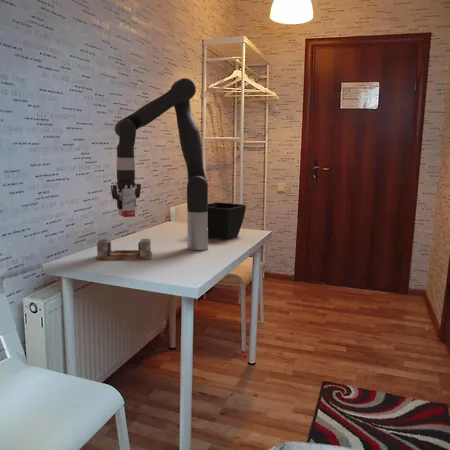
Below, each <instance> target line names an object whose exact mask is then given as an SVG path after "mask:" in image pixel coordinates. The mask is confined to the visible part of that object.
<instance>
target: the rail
mask: <svg viewBox="0 0 450 450" xmlns="http://www.w3.org/2000/svg"><path fill="white" fill-rule="evenodd" d="M151 248H152V247H151V238H140V240H139V242H138V249H113V250H112V242H111V239H110V238H99V240H98V241H97V242H96V249H97V250H96V251H97V252H96V253H97V254H96V256H95V261H96V260H99V261H100V262H103V261H104V260H105V261H151V260H152V258H153V251H151ZM99 261H98V262H99Z"/></svg>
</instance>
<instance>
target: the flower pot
mask: <svg viewBox="0 0 450 450" xmlns="http://www.w3.org/2000/svg"><path fill="white" fill-rule="evenodd" d="M246 208H247V205H246V204H242V203H241V204H240V203H232V202H231V203H228V202H219V201H218V202H212V203H208V239H211V238H212V239H216V240H217V239H218V240H224V241H226V240H230V239H232V238H235V237H238V236H239V233H240V231H241V228H242V225H243V222H244V219H245V213H246Z"/></svg>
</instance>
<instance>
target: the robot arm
mask: <svg viewBox="0 0 450 450" xmlns="http://www.w3.org/2000/svg"><path fill="white" fill-rule="evenodd" d="M196 92H197V87H196V83H195V82H194V81H193V80H192V79H190V78H188V77H187V78H185V77H184V78H180V79H178V80H176V81H175V82H174V83H172V85H171V88H170V89H169V90H168V91H166V92H165V93H163V94H161V95H160V96H159V97H157V98H155V99H153V100H152V101H150V102H148V103H146V104H144V105H143V106H142V107H140V108H139V109H137V110H135V111H134V112H133V113H131V114H129V115H127V116H125V117H124V118H122V119H120V120H118V121H117V122H116V123H115V124H114V132H115V134H116V136H118V137H119V138H118V139H119V141H118V144H117V147H116V180H117V182H116V184H111V185H110V191H111V197H112V198H111V199H113V200H115V201H116V209H119V210H122V201H121V200H122V195H123V192H122V193H120V192H121V191H122V189H134V198H135V207H136V204H137V203H136V200H137V199H138V198H139V199H140V197H141V189H142V184H141V183H136V182H135V180H136V163H135V144H136V136H137V130H139V129H140V128H144V127H145V126H147V125H149V124H151V122H154V121H155V120H157V118H159V117H161V116H162V115H163V114H165V113H166V112H167V111H169V109H171V108H174V111H175V115H176V124H177V130H178V136H179V145H180V149H181V152H182V157H183V158H184V161H185V165H186V169H187V171H186V173H187V184H186V206H187V208H186V209H187V213H186V214H187V218H186V221H187V222H186V223H187V228H186V229H187V231H186V232H187V240H186V241H187V242H186V243H187V244H186V245H187V249H188V250H189V251H205V250H208V249H209V237H208V204H209V203H208V200H209V198H208V197H209V196H208V195H209V192H208V191H209V189H208V188H209V183H208V180H207V177H206V173H205V169H204V165H203V149H202V139H201V135H200V130H199V126H198V124H197V122H196V120H195V118H194V116H193V113H192V109H191V102H190V100H191V99H192V98H193V97H194V96H195V95H196ZM118 189H119V190H118Z"/></svg>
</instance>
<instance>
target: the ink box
mask: <svg viewBox="0 0 450 450" xmlns="http://www.w3.org/2000/svg"><path fill="white" fill-rule="evenodd" d="M118 190H119V189H117V191H118ZM122 192H123V195H122V200H121V201H122V210H119V209H118V208H117V209H118V213H117V214H118V215H119V216H120V217H123V218H135V217H136V211H135V209H136V206H135V198H134V192H135V188H134V189H122V191H121V192H120V193H122Z"/></svg>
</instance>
